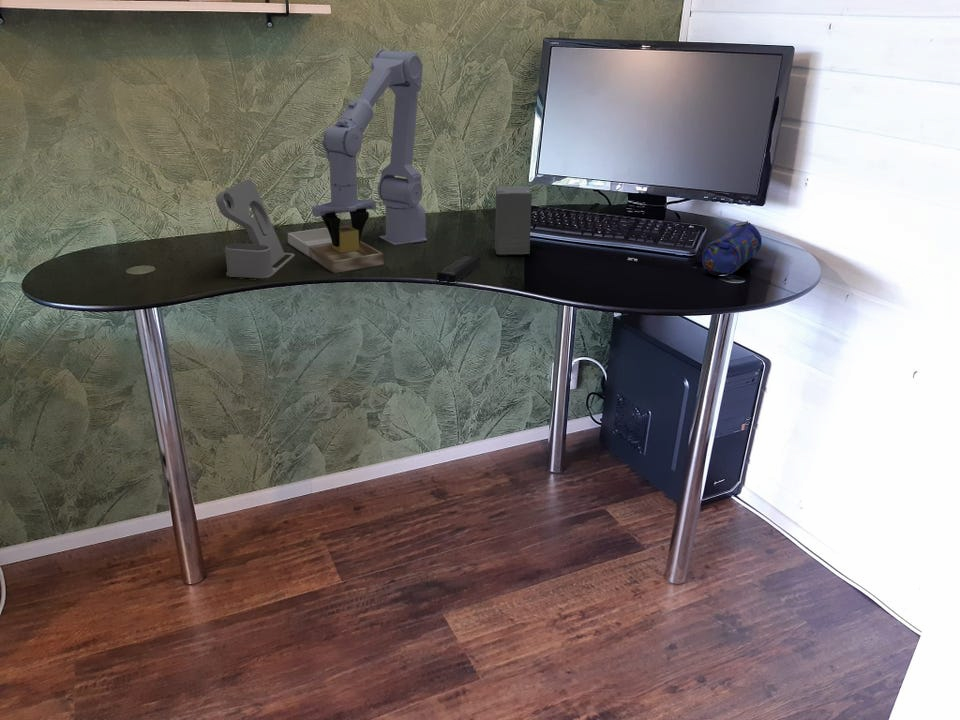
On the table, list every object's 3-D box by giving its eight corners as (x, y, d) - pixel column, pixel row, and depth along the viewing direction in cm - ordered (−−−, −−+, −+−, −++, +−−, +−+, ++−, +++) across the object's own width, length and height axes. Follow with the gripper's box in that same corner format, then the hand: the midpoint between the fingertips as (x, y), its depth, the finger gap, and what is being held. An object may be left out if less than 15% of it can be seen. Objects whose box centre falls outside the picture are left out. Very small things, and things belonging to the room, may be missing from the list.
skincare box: (527, 249, 190) (531, 184, 183) (529, 258, 183) (534, 191, 177) (493, 248, 190) (495, 183, 183) (494, 257, 183) (497, 190, 176)
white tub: (334, 238, 193) (334, 226, 192) (357, 251, 184) (356, 238, 183) (288, 245, 186) (287, 233, 185) (309, 258, 177) (308, 246, 176)
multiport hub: (480, 266, 178) (481, 257, 177) (454, 285, 166) (454, 275, 165) (463, 264, 179) (463, 254, 178) (436, 282, 167) (436, 272, 166)
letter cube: (350, 244, 177) (349, 225, 175) (359, 249, 174) (358, 230, 172) (332, 247, 175) (331, 227, 173) (341, 252, 172) (340, 232, 170)
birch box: (358, 251, 183) (358, 239, 182) (383, 266, 174) (383, 253, 173) (310, 259, 177) (310, 247, 176) (334, 275, 168) (333, 261, 167)
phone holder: (268, 281, 163) (260, 196, 156) (222, 277, 164) (212, 193, 157) (296, 256, 179) (291, 178, 171) (254, 253, 180) (247, 175, 172)
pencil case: (725, 252, 193) (731, 215, 189) (760, 259, 189) (767, 220, 185) (697, 275, 176) (704, 234, 172) (735, 283, 172) (742, 241, 168)
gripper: (320, 190, 161) (324, 253, 167) (382, 183, 169) (383, 244, 175) (306, 184, 166) (310, 245, 172) (366, 177, 174) (368, 236, 180)
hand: (346, 244), depth 174 cm, fingers closed on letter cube, 4 cm apart
